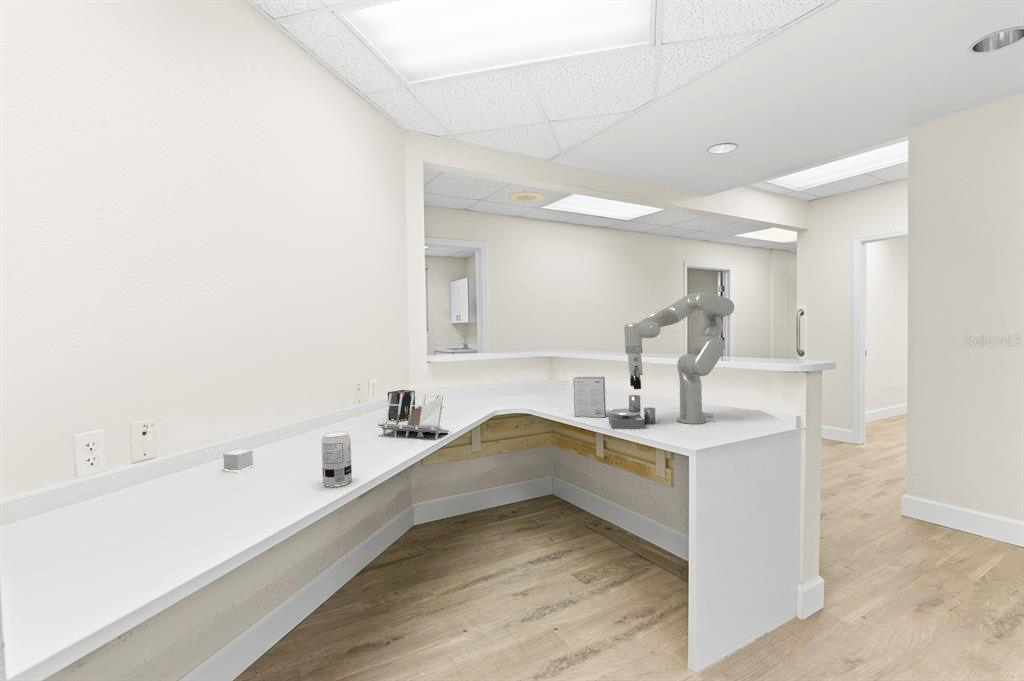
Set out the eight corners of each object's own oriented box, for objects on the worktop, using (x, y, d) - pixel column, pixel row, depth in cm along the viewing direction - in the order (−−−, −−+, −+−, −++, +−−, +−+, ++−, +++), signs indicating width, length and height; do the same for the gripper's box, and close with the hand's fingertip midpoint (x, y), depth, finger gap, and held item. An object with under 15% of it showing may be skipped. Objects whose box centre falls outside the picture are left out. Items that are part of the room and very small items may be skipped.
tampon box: (400, 421, 228) (399, 393, 228) (387, 420, 233) (387, 392, 233) (416, 418, 237) (415, 390, 237) (403, 416, 242) (402, 389, 242)
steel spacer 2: (654, 422, 213) (654, 407, 212) (656, 424, 208) (656, 409, 208) (643, 422, 213) (643, 407, 213) (645, 424, 208) (645, 409, 208)
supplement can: (317, 484, 136) (315, 435, 136) (342, 477, 143) (340, 429, 142) (332, 489, 131) (330, 438, 131) (357, 481, 138) (355, 433, 137)
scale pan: (638, 414, 212) (638, 408, 212) (642, 419, 200) (642, 413, 200) (610, 414, 214) (609, 408, 214) (612, 419, 201) (612, 413, 201)
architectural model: (427, 437, 180) (434, 384, 186) (367, 433, 190) (375, 383, 196) (450, 441, 198) (456, 394, 204) (394, 438, 208) (401, 392, 214)
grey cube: (224, 471, 152) (223, 453, 152) (239, 466, 158) (238, 449, 158) (238, 472, 150) (237, 454, 150) (253, 467, 156) (252, 450, 156)
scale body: (639, 422, 213) (639, 413, 213) (644, 428, 199) (644, 419, 199) (609, 422, 215) (608, 413, 215) (611, 428, 201) (611, 419, 201)
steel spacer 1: (639, 410, 208) (639, 394, 208) (641, 412, 204) (641, 396, 203) (628, 410, 209) (628, 395, 209) (629, 412, 204) (629, 396, 204)
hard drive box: (606, 414, 233) (605, 376, 233) (605, 417, 226) (604, 378, 225) (575, 414, 237) (575, 376, 237) (574, 416, 230) (573, 377, 229)
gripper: (645, 351, 197) (647, 390, 197) (639, 348, 214) (641, 384, 214) (628, 351, 197) (630, 390, 198) (623, 349, 215) (624, 385, 215)
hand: (635, 387), depth 206 cm, fingers open, 9 cm apart
